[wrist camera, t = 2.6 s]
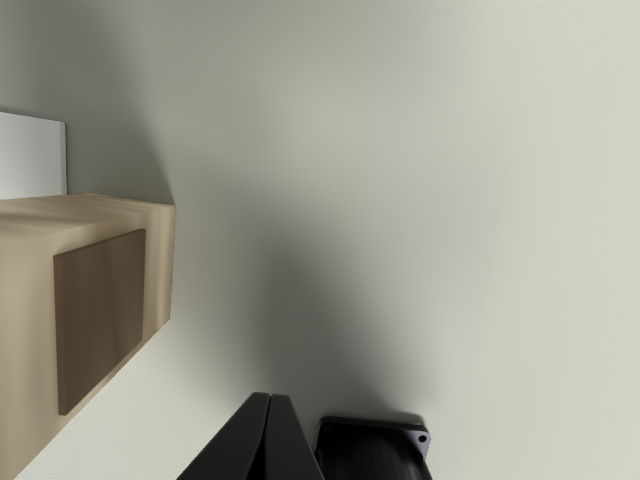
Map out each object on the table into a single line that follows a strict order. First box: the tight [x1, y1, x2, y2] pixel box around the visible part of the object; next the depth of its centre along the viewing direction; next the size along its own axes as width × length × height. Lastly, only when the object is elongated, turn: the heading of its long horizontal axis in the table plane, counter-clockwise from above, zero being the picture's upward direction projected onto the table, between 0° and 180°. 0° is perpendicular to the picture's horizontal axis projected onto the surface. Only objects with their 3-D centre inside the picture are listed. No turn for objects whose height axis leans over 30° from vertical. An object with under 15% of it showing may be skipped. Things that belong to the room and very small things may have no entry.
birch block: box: [0, 193, 176, 480], centre depth 9 cm, size 4×6×11 cm
